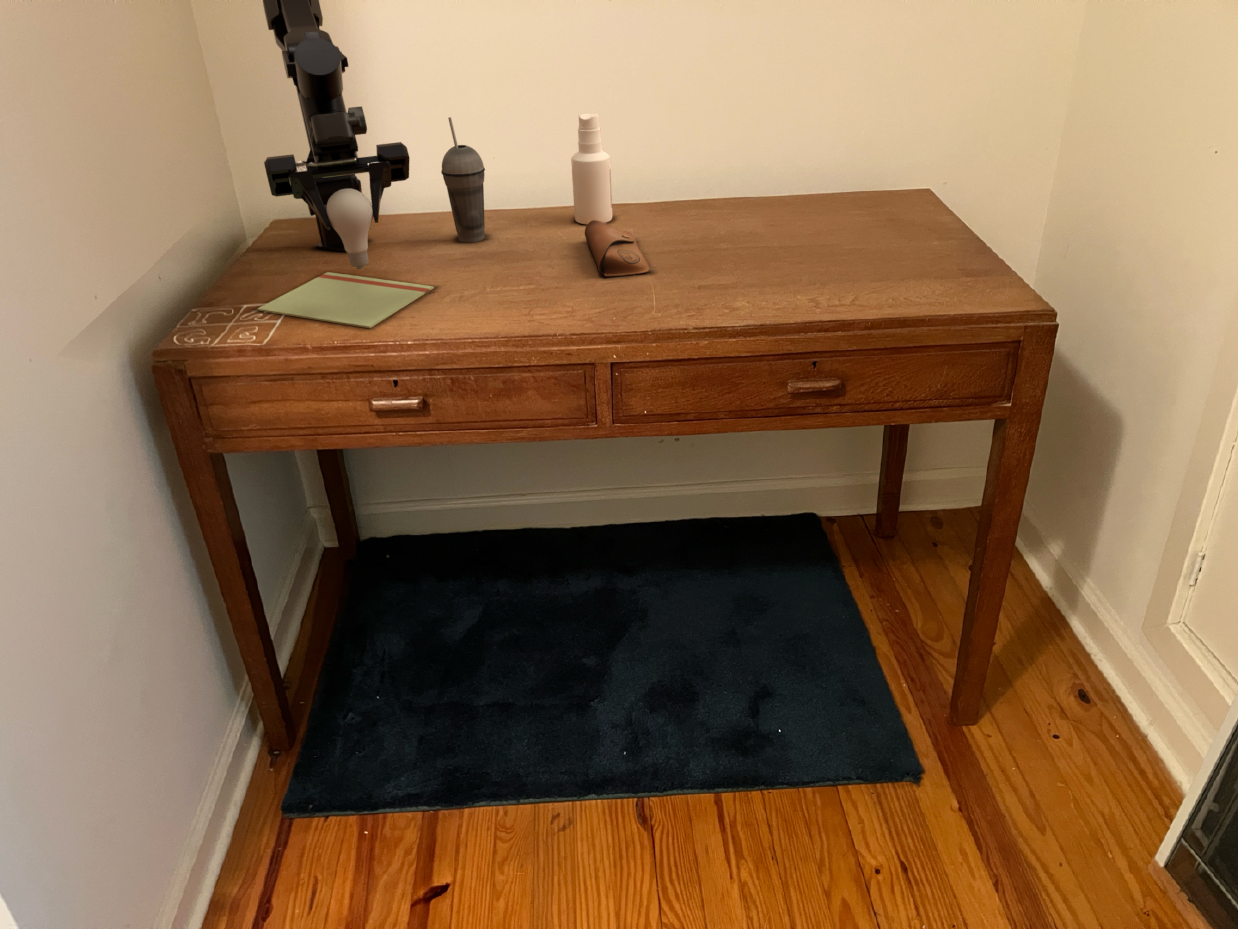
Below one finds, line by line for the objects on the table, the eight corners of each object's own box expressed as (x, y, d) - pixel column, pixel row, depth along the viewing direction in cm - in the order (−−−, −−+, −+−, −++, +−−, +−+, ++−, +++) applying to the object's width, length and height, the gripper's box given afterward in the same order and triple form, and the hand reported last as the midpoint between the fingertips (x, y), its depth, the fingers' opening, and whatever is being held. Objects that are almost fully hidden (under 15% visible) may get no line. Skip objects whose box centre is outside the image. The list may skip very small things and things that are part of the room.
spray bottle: (617, 215, 167) (614, 111, 157) (605, 226, 161) (600, 119, 152) (582, 212, 169) (577, 110, 159) (569, 223, 163) (562, 118, 154)
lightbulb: (351, 259, 131) (336, 181, 125) (390, 262, 129) (377, 183, 123) (329, 274, 126) (312, 194, 120) (369, 277, 124) (354, 196, 118)
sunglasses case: (654, 269, 140) (631, 235, 137) (616, 295, 142) (593, 261, 138) (633, 234, 155) (612, 202, 152) (599, 257, 157) (577, 226, 153)
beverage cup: (484, 245, 155) (470, 122, 144) (444, 244, 156) (427, 121, 145) (498, 232, 161) (485, 112, 150) (458, 230, 162) (443, 112, 151)
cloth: (257, 310, 133) (257, 308, 133) (328, 273, 146) (327, 271, 145) (369, 328, 126) (369, 326, 126) (433, 288, 139) (433, 286, 138)
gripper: (247, 92, 115) (272, 203, 113) (395, 78, 121) (423, 183, 118) (260, 143, 126) (283, 245, 123) (395, 128, 131) (421, 226, 128)
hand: (352, 224), depth 123 cm, fingers closed on lightbulb, 6 cm apart
